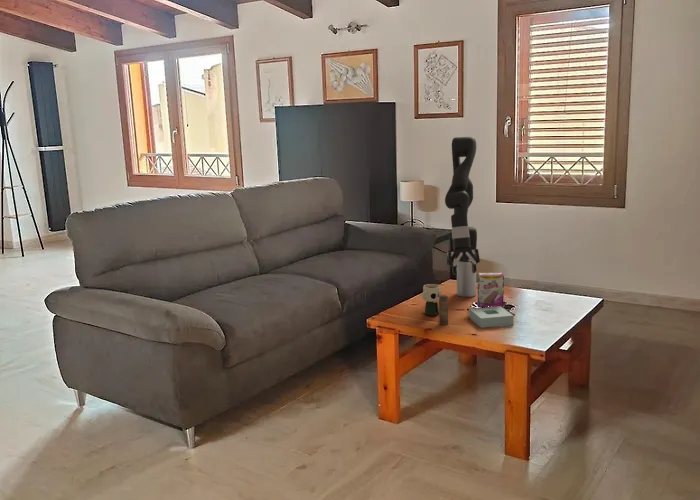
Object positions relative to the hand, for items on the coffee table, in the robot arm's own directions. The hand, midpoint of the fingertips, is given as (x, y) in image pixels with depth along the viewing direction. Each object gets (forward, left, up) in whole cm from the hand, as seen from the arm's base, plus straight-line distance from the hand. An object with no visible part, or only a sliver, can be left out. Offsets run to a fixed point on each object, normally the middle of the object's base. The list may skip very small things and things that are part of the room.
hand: (464, 274), depth 286 cm
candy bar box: (0, +12, -17) cm, 21 cm away
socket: (+16, +6, -17) cm, 24 cm away
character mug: (0, -15, -17) cm, 23 cm away
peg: (+14, -14, -17) cm, 26 cm away
